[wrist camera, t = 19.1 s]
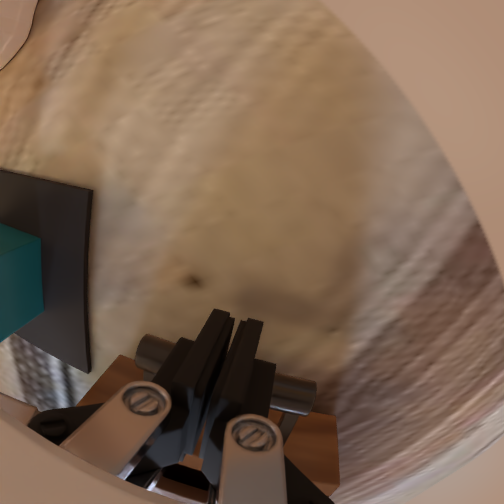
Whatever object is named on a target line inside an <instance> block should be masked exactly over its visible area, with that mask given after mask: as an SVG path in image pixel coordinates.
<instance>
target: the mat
mask: <svg viewBox="0 0 504 504" xmlns="http://www.w3.org/2000/svg"><path fill="white" fill-rule="evenodd" d="M92 194H93V190H89V189H85V188H80V187H76V186H72V185H67V184H63V183H58V182H54V181H49V180H45V179H40V178H36V177H31V176H27V175H22V174H17V173H13V172H8V171H3V170H0V223H2V224H5V225H7V226H10V227H12V228H15V229H17V230H20V231H23V232H25V233H28V234H30V235H33V236H36V237H38V238H41V271H42V289H43V302H44V312H42V313H41V314H40V315H38V316H37V317H35V318H34V319H32V320H31V321H30V322H28V323H27V324H25V325H24V326H23V327H21V328H20V329H18V330H17V331H16V332H14V333H15V334H17V335H18V336H20V337H21V338H23V339H25V340H26V341H28V342H30V343H31V344H33V345H35V346H36V347H38V348H40V349H42V350H43V351H45V352H47V353H49V354H50V355H52V356H54V357H56V358H58V359H60V360H61V361H63V362H65V363H67V364H69V365H71V366H73V367H75V368H77V369H79V370H81V371H83V372H85V373H87V374H89V373H90V372H91V365H90V353H89V337H88V311H87V269H88V243H89V227H90V215H91V204H92Z"/></svg>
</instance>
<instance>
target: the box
mask: <svg viewBox="0 0 504 504" xmlns="http://www.w3.org/2000/svg"><path fill="white" fill-rule="evenodd" d="M42 312H44V302H43V289H42V271H41V238H38V237H36V236H33V235H30V234H28V233H25V232H23V231H20V230H17V229H15V228H12V227H10V226H7V225H5V224H2V223H0V342H2V341H3V340H5V339H6V338H7V337H9V336H10V335H11V334H13V333H14V332H16V331H17V330H18V329H20V328H21V327H23V326H24V325H25V324H27V323H28V322H30V321H31V320H32V319H34V318H35V317H37V316H38V315H40V314H41V313H42Z"/></svg>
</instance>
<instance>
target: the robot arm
mask: <svg viewBox="0 0 504 504" xmlns="http://www.w3.org/2000/svg"><path fill="white" fill-rule="evenodd" d="M234 321H235V318H232V317H230V313H229V312H226V311H222V310H219V309H215V308H214V309H213V311H212V313H211V314H210V316H209V318H208V320H207V321H206V323H205V325H204V327H203V328H202V330H201V332H200V333H199V335H198V337H197V339H196V340H195V341H192V340H189V339H186V338H183V337H181V338H180V339H179V340H178V342H177V343H176V345H175V346H174V348H173V349H172V351H171V352H170V354H169V355H168V357H167V358H166V360H165V361H164V363H163V364H162V366H161V367H160V369H159V370H158V372H157V373H156V375H155V376H154V378H153V379H152V381H151V382H148V381H134V382H131V383H127V384H126V385H124V386H123V387H121V388H120V389H119V390H118V391H117V392H116V393H115V394H114V395H113V396H112V397H111V398H110V399H109V400H107V401H106V402H105V403H98V404H92V405H85V406H77V407H69V408H61V409H52V410H47V411H43V412H40V411H38V409H37V407H35V406H32V405H30V404H27V403H25V402H22V401H20V400H17V399H15V398H12V397H10V396H8V395H5V394H3V393H1V392H0V504H187V503H183V502H180V501H177V500H174V499H171V498H168V497H166V496H163V495H160V494H157V493H155V492H152V489H153V488H154V486H155V485H156V484H157V482H158V481H159V479H160V478H161V477H162V475H163V474H164V472H165V470H166V468H167V466H168V465H172V464H175V463H178V462H179V461H181V462H183V460H184V457H185V455H186V454H189V455H193V452H194V450H195V447H196V445H197V442H198V440H199V437H200V434H201V432H202V429H203V427H204V424H205V421H206V424H205V429H204V434H203V438H202V443H201V448H200V453H199V458H201V459H203V463H202V468H201V471H202V472H203V473H204V475H205V476H206V478H207V479H208V480H209V482H210V484H209V489H208V498H207V504H334V502H333V501H332V500H331V499H330V498H328V497H327V496H326V495H325V494H324V493H323V492H322V491H321V490H320V489H319V488H318V487H317V486H316V485H315V484H314V483H312V482H311V481H310V480H309V479H308V478H307V477H306V476H305V475H304V474H303V473H302V472H301V471H300V470H299V469H298V468H297V467H296V466H295V465H294V464H293V463H292V462H291V461H290V460H289V459H288V458H287V457H286V456H285V455H284V450H283V437H282V434H281V431H280V429H279V428H278V426H277V425H276V424H275V423H273V422H272V421H271V420H269V419H268V414H269V408H270V402H271V396H272V390H273V384H274V377H275V371H276V364H274V363H270V362H266V361H262V360H258V359H254V358H255V354H256V351H257V347H258V343H259V339H260V335H261V331H262V327H263V323H264V322H262V321H259V320H255V319H251V318H248V320H247V322H246V321H242V320H241V321H240V323H239V326H238V329H237V331H236V334H235V336H234V339H233V342H232V344H231V347H230V349H229V352H228V348H229V343H230V339H231V334H232V330H233V326H234ZM227 352H228V354H227ZM226 356H227V357H226Z"/></svg>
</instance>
